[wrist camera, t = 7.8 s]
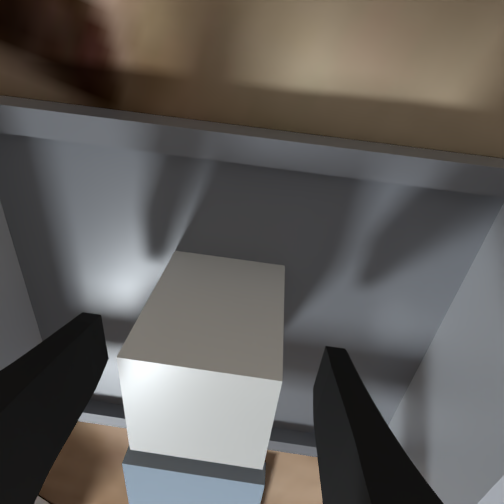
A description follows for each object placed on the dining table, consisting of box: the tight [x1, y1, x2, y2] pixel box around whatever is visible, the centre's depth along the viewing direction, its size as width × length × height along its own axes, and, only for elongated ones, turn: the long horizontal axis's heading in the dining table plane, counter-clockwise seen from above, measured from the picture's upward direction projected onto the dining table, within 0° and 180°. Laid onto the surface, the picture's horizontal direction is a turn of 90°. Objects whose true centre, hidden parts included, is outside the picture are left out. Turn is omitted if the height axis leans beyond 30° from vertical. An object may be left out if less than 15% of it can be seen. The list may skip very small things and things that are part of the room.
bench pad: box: [122, 446, 266, 504], centre depth 22 cm, size 8×8×1 cm
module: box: [116, 251, 285, 470], centre depth 11 cm, size 4×4×5 cm
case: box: [0, 95, 504, 504], centre depth 12 cm, size 18×15×6 cm
